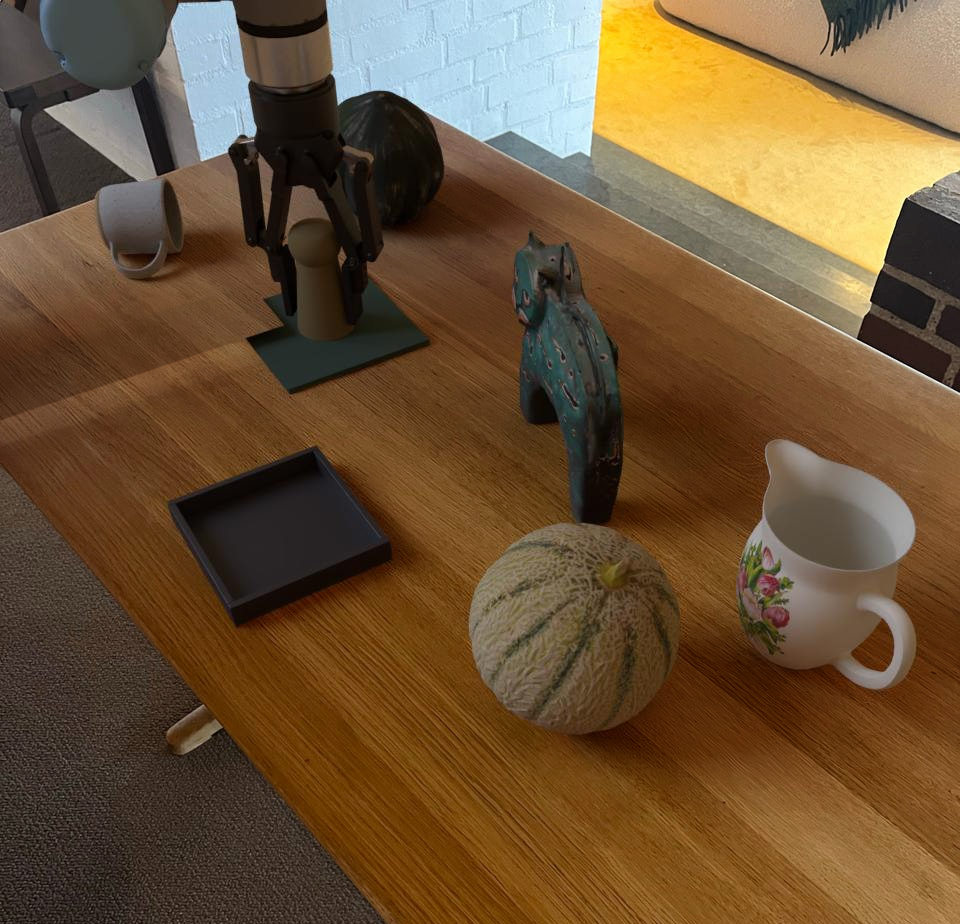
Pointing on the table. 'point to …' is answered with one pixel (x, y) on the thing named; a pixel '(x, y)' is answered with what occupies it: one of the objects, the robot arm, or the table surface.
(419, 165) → the squash
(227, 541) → the tray
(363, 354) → the mat
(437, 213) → the table surface
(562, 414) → the ceramic cat
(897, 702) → the table surface
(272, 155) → the robot arm
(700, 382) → the table surface
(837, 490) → the pitcher
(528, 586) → the cantaloupe
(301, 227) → the wooden peg doll
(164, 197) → the ceramic mug
